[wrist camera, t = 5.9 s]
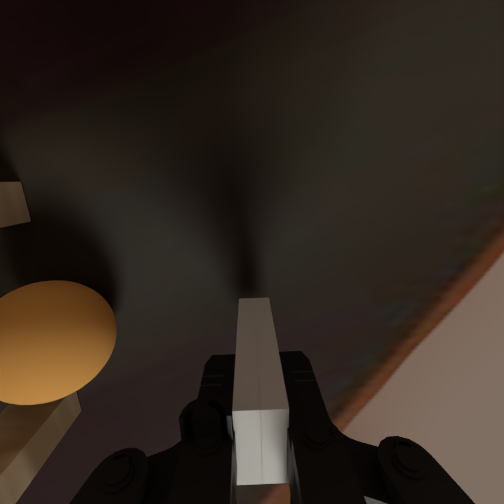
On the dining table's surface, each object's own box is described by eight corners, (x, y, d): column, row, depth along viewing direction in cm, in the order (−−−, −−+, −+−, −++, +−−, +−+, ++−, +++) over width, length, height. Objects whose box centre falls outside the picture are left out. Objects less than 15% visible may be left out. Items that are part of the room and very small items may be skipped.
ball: (16, 367, 14) (125, 340, 17) (-40, 461, 10) (123, 406, 12) (-15, 275, 13) (109, 259, 15) (-100, 332, 8) (100, 296, 10)
